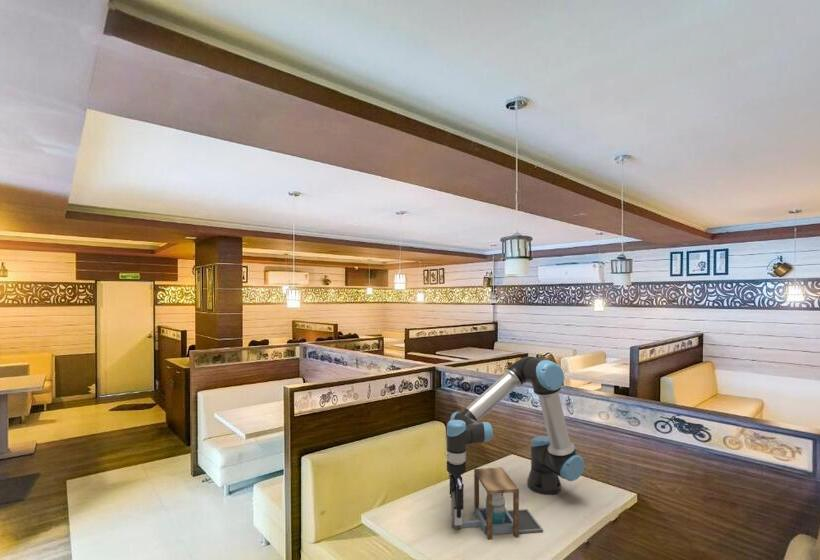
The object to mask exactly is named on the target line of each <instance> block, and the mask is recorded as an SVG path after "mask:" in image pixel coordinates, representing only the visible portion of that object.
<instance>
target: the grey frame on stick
mask: <svg viewBox="0 0 820 560" xmlns="http://www.w3.org/2000/svg"><path fill="white" fill-rule="evenodd" d="M451 499H452V516H451V528H452V529H454V530H460V529H461V528H474V527H476V528H477V527H481V529H482V530H483V533H484V535H485V536H487V523H486V507H479V508H476V515H475V518H476V519H472V520H462V525H455V509H454V507H455V492H452V498H451ZM505 522H507V523H505V524H494V525H492V535H502V534H513V518H512V517H511V515H510V514H509V512H508V511H507V508H506V507H505Z"/></svg>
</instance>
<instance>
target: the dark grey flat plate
mask: <svg viewBox="0 0 820 560" xmlns="http://www.w3.org/2000/svg"><path fill="white" fill-rule="evenodd" d="M507 511H508V512H509V514H510V515H511V517H512V518H513V509H510V510H509V509H508V510H507ZM536 533H537V534H538V533H544V529H543V528H542V527H541V525H540V523H539V522H538V521H537V520H536V518H535V517H534V516H533V515H532V513H531V512H530V510H529V509H528V508H524V509H521V508H520V509H519V535H523V534H524V535H525V534H536Z"/></svg>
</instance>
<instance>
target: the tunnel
mask: <svg viewBox="0 0 820 560" xmlns="http://www.w3.org/2000/svg"><path fill="white" fill-rule="evenodd" d="M473 471H474V472H473V477H474V478H473V482H474V483H473V485H474V486H473V487H474V488H473V496H474V497H473V501H474V503H473V514H474V516H476V508H480V483H481V485H482V488H484V490H485V492H486V497H487V535H486V538H487V540H493V534H492V494H497V493H501V495H502V496H503V497H504V494H508V493H509V494H510V493H513V494H512V496H513V497H512V500H513V501H512V502H513V503H512V504H513V505H512V507H513V509H512V510H513V533H512V536H513V537H514V538H519V537H520V534H519V510H520V489H519V487H518V486H517V485H516V484H515V482H514V481H513V479H511V477H510V475H508V474H507V472H506V471H505V470H504V469H503V467H486V468H474V469H473Z"/></svg>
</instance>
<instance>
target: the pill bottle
mask: <svg viewBox="0 0 820 560" xmlns="http://www.w3.org/2000/svg"><path fill="white" fill-rule="evenodd" d="M505 499H506V498H505V497H504V495H503V496H502V495H501V493H497V494H492V525H494V524H506V520H505V508H506V500H505ZM485 508H486V517H485V521H486V523H487V496H486V497H485Z"/></svg>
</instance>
